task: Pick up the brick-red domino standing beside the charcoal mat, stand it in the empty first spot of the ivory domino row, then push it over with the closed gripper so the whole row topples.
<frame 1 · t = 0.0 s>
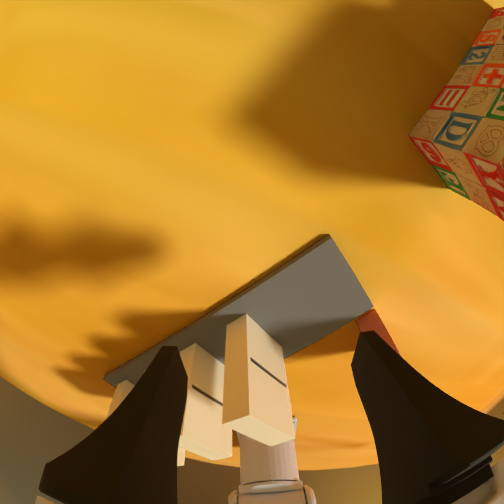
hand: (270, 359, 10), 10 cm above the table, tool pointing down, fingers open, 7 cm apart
ivory domino 3: (207, 362, 24), point 1 cm above the table, touching domino mat
ivory domino 5: (139, 393, 27), point 1 cm above the table, touching domino mat
stack of blocks: (481, 83, 13), on the table
ivory domino 2: (255, 336, 22), point 1 cm above the table, touching domino mat
red domino: (374, 329, 24), on the table
domino mat: (215, 353, 24), on the table
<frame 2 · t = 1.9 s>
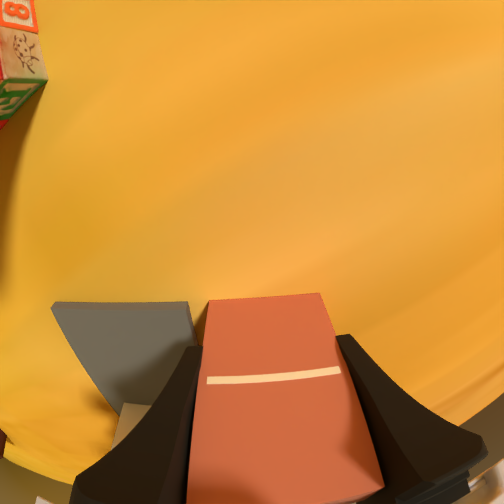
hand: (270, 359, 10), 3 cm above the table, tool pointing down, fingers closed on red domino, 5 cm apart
ivory domino 2: (160, 413, 16), point 1 cm above the table, touching domino mat
red domino: (265, 314, 13), on the table, touching gripper
domino mat: (177, 432, 19), on the table
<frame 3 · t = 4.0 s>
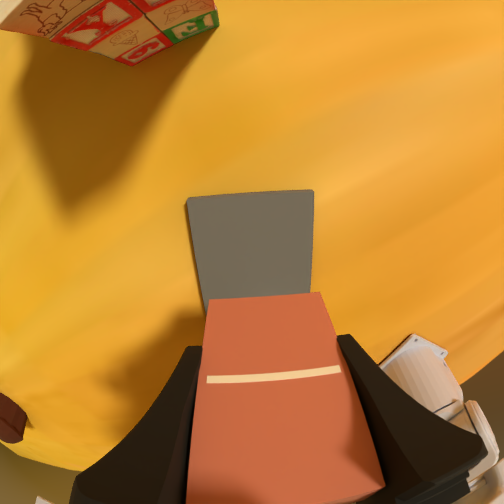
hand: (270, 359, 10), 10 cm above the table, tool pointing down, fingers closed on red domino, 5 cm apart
muffin: (12, 404, 35), on the table
red domino: (265, 313, 13), point 7 cm above the table, touching gripper
domino mat: (259, 348, 24), on the table
when the fingers open (4 cm above the table, at t = 5.9 s): red domino stays where it is, resting on domino mat.
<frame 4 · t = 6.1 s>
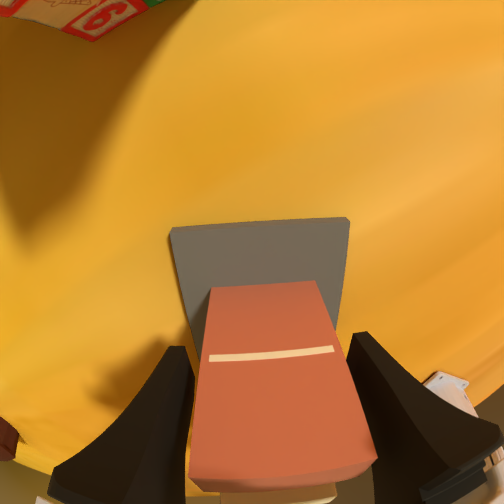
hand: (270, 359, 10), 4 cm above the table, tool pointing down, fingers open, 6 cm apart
muffin: (3, 421, 30), on the table
ivory domino 2: (266, 370, 16), point 1 cm above the table, touching domino mat
red domino: (264, 300, 14), point 1 cm above the table, touching domino mat
domino mat: (266, 398, 19), on the table
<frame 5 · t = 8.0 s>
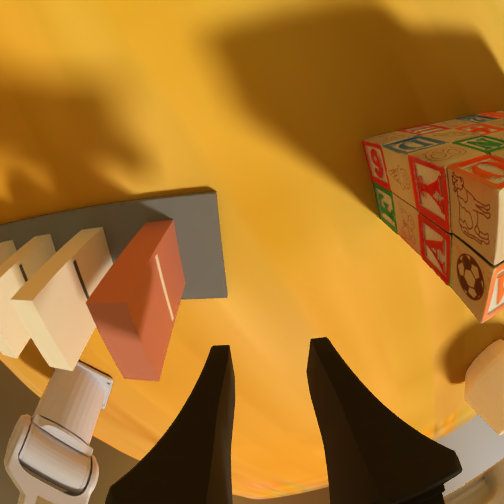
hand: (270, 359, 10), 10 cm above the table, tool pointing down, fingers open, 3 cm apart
cup: (484, 358, 31), on the table
ivory domino 3: (51, 261, 19), point 1 cm above the table, touching domino mat
stack of blocks: (468, 150, 16), on the table
ivory domino 2: (100, 258, 19), point 1 cm above the table, touching domino mat
ivory domino 4: (15, 264, 19), point 1 cm above the table, touching domino mat
red domino: (166, 253, 19), point 1 cm above the table, touching domino mat
domino mat: (62, 257, 19), on the table
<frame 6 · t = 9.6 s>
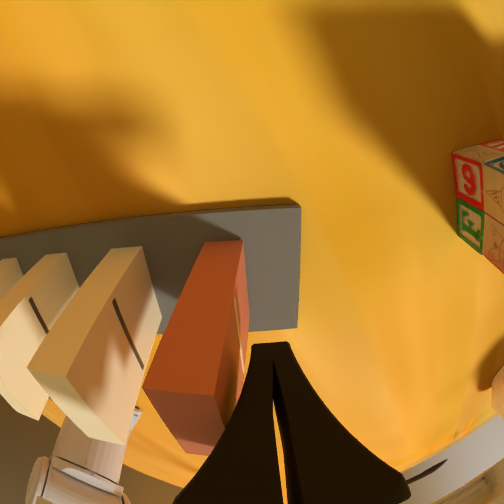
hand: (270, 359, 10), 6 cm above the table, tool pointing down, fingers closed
ivory domino 3: (68, 286, 15), point 1 cm above the table, touching domino mat
ivory domino 2: (137, 285, 15), point 1 cm above the table, touching domino mat
ivory domino 4: (20, 286, 15), point 1 cm above the table, touching domino mat
red domino: (228, 281, 15), point 1 cm above the table, tilted 5°, touching domino mat, gripper
domino mat: (82, 281, 16), on the table
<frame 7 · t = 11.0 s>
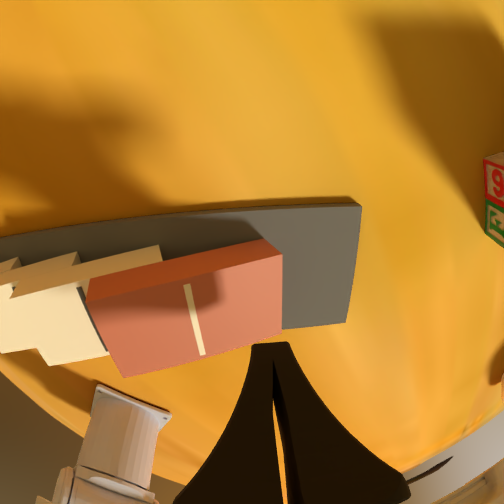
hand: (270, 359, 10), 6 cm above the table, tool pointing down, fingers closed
ivory domino 3: (87, 294, 15), point 2 cm above the table, tilted 69°, touching domino mat, ivory domino 2, ivory domino 4
ivory domino 2: (170, 292, 15), point 2 cm above the table, tilted 69°, touching domino mat, ivory domino 3, red domino
ivory domino 4: (27, 293, 15), point 2 cm above the table, tilted 66°, touching domino mat, ivory domino 3, ivory domino 5
red domino: (273, 288, 15), point 2 cm above the table, tilted 69°, touching domino mat, ivory domino 2
domino mat: (124, 280, 16), on the table
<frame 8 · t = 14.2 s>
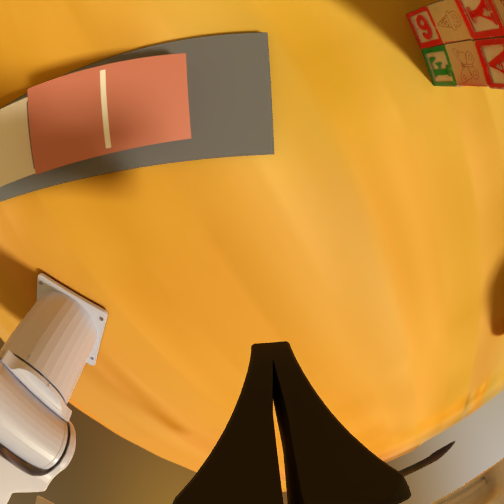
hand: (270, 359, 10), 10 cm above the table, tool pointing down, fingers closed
stack of blocks: (491, 51, 12), on the table
ivory domino 2: (98, 114, 13), point 2 cm above the table, tilted 69°, touching domino mat, ivory domino 3, red domino
red domino: (185, 96, 13), point 2 cm above the table, tilted 69°, touching domino mat, ivory domino 2
domino mat: (69, 126, 15), on the table
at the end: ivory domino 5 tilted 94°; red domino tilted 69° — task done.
